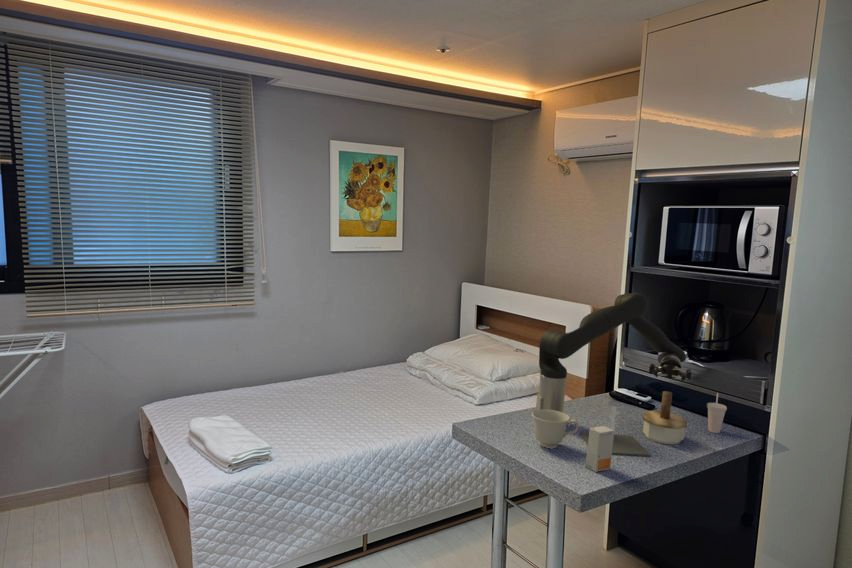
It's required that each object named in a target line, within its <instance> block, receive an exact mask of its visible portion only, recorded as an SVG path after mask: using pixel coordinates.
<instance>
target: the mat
mask: <svg viewBox="0 0 852 568" xmlns="http://www.w3.org/2000/svg"><path fill="white" fill-rule="evenodd" d="M579 435H580V437H581V438H582V440H583V439H584V440H583V441H584V442H585V443H586V446H588V440H589V432H579ZM612 454H614V456H616V455H617V456H630V455H633V456H634V457H647V456H651V457H652V454H651V453H650V452H649V451H648V450H647V449H646V448H645V447H644V446H643V445H642V444H641V443H640V442H639V441H638V440H637V439H636V438H635V437H634V436H633V435H627V434H625V435H624V434H614V439H613V448H612ZM633 456H632V457H633Z"/></svg>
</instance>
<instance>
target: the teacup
mask: <svg viewBox="0 0 852 568" xmlns="http://www.w3.org/2000/svg"><path fill="white" fill-rule="evenodd" d="M531 416H532V417H533V428H534V429H533V430H534V436H535V439H536V440H537V441H539V442H538V443H539V444H540V445H541V446H543V447H542V448H544V447H546V448H545V449H548V448H555V449H557V448H558V444H560V443H561V442H563V441H564V438H565V437H566V436H569V435H573V434H576V432H578V430H579V429H580V425H579V424H580V423H579V422H578V420H576V419H571V417H570V416H569V415H568V414H567V413H565V412H563V413H562V412H559V411H555V410H548V409H540V410H536V409H535V410H533V411H532V412H531ZM572 424H575V428H574V429H572V430H569V431H566V429H567V427H571V425H572ZM539 444H538V445H539ZM540 445H539V446H540ZM541 446H540V447H541ZM556 447H557V448H556Z"/></svg>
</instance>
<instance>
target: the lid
mask: <svg viewBox="0 0 852 568" xmlns="http://www.w3.org/2000/svg"><path fill="white" fill-rule="evenodd" d="M661 397H662V398H661V404H660V406H661V407H660V411H659V410H649V411H644V412H643V414H642V419H643V421H644V420H645V421H646V422H648V423H650V424H653V425H656V426H659V427H664V428H671V429H681V428H685V429H686V428H687V426H688V421H687V419H686V418H684V417H682V416H680V415H678V414H675V413H671V410H672V408H671V407H672V401H673V392H672V391H666V390H664V391H662V396H661Z"/></svg>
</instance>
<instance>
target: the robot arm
mask: <svg viewBox="0 0 852 568" xmlns="http://www.w3.org/2000/svg"><path fill="white" fill-rule="evenodd" d="M648 308H649V300H648V298H647V297H646V296H645V295H644V294H642V293H639V292H632V293H623V294H622V293H621V294H619V295H617V297H616V298H615V300H614V304H613V305H610V306H607V307H603V308H599V309H597V310H595V311H593V312H590V313H588V314H587V315H585V316H584V317H583V318H582V319H581V321H580V323H579V327H577V328H576V329H574V330H572V331H569V332H561V331H558V330H553V329H547V330H546V331H544V332H543V334H542V335H541V338H540V340H539V349H538V353H539V354H538V365H539V369H540V370H539V371H540V373H539V387H538V392H537V393H536V405H535V410H540V409H548V410H555V411H559V412H562V413H564V408H565V400H566V399H565V398H566V389H567V387H566V385H567V375H568V371H567V368H566V367H565V366H564V365H563V364H562V362H561V361H560V360H559V359H561V360H565V359H568V358H569V357H571V356H572V355H574V354H576V353H577V352H578V351H580V350H581V349H582V348H583V347H585V346H586V345H588V344H590V343H592V342H593V341H594V340H596V339H598V338H601V337H602V336H604V335H606V334H607V333H610V332H611V331H613V330H615V329H616V328H618V327H620V326H621V325H623V324H625V323H628V324H629V325H630V326H632V328H634V330H636V332H637V333H639V334H640V335H641V336H642V337H643V338H644V340H646V342H647V343H648V344H649V346H650V347H651V348H652V350H654V352H656V353H658V354H659V355H658V356H657V361H658V363H659V365H658V366H656V365H655V364H654V363H651V364H650V365H649V368H648V374H649V375H652V374H653V376H655V377H656V378H658V377H659V376H660V377H661V376H662V377H665V378H667V379H670V380H671V379H676V378H677V379H681V380H680V381H682V382H684V381H686V379H687V380H690V381H691V380H692V374H693V373H692V370H691V369H690V368H688V369H685V370H683V369H682V363H681V362H683V361H684V362H685V361H686V359H687V355H686V353H685V351H684V350H683V349H682V348H681V347H679V346H678V345H676V344H675V343H673V342H672V341H671V340H669V338H668V337H667V336H666V335H665V333H664V332H663V330H662V329H661V328H660V327H658V326H656V325H655V324H654V323H652V322H650V321H649V320H647V319H645V317H644V316H643V315H644V314H645V313H646V312H647V310H648ZM684 362H683V363H684Z"/></svg>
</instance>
